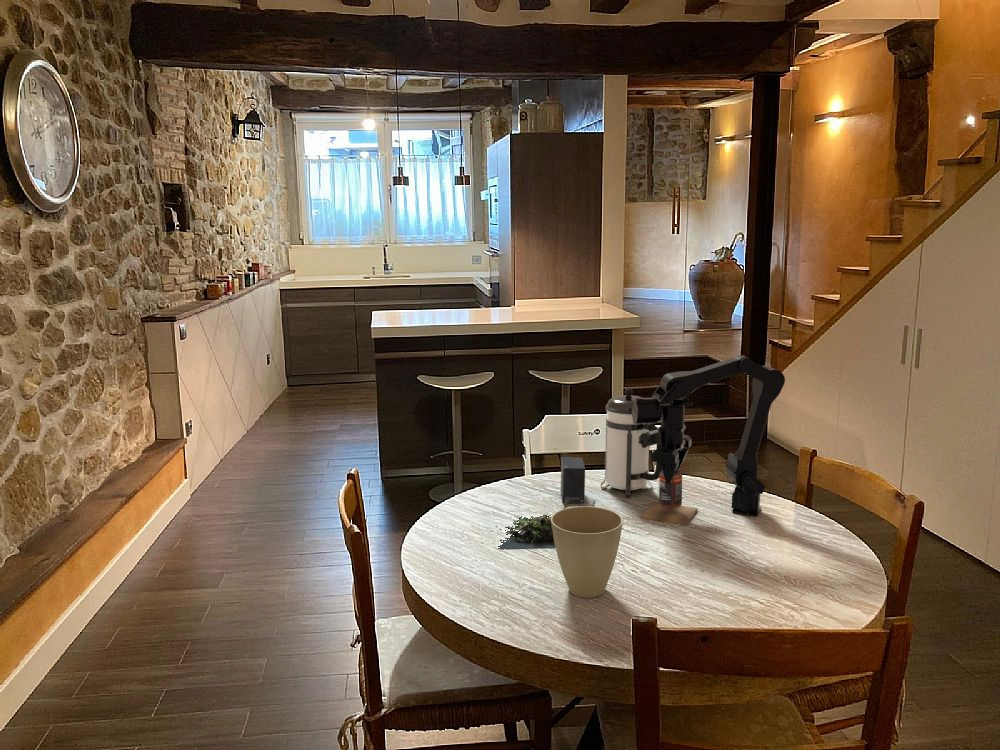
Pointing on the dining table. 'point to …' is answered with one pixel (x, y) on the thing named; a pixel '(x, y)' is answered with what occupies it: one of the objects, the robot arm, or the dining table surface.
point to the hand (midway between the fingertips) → (671, 479)
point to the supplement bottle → (670, 490)
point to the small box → (572, 480)
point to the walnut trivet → (669, 514)
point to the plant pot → (586, 547)
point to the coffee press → (626, 447)
